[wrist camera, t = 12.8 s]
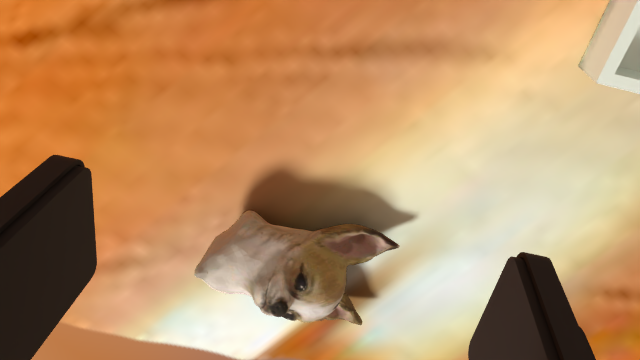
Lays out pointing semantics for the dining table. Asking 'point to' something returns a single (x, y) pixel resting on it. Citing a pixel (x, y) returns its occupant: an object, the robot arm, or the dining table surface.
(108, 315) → the dining table surface
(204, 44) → the dining table surface
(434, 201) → the dining table surface
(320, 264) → the ceramic sculpture
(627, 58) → the tray
